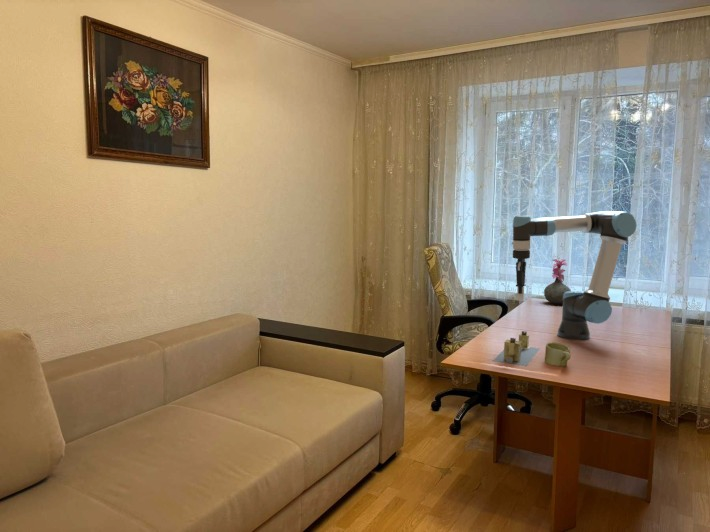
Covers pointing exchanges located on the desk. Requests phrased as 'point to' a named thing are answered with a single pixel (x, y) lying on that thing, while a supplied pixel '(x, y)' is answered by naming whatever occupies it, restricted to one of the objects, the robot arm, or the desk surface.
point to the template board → (525, 356)
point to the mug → (557, 354)
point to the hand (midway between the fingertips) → (520, 300)
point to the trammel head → (512, 349)
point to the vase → (556, 284)
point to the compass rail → (524, 344)
